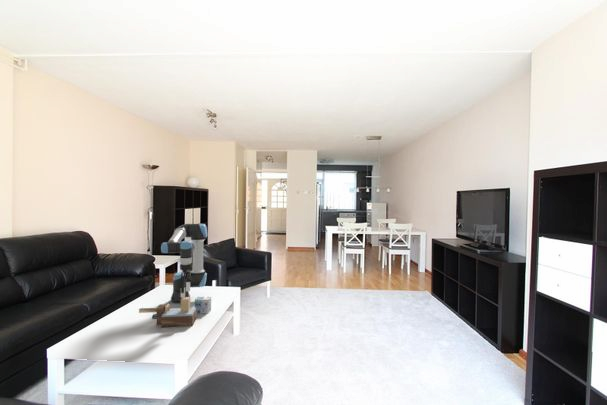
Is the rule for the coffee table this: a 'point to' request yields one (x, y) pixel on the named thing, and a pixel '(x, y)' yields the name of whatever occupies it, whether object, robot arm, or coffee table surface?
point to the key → (147, 310)
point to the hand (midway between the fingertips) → (185, 294)
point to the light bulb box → (203, 304)
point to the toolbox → (173, 319)
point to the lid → (179, 309)
